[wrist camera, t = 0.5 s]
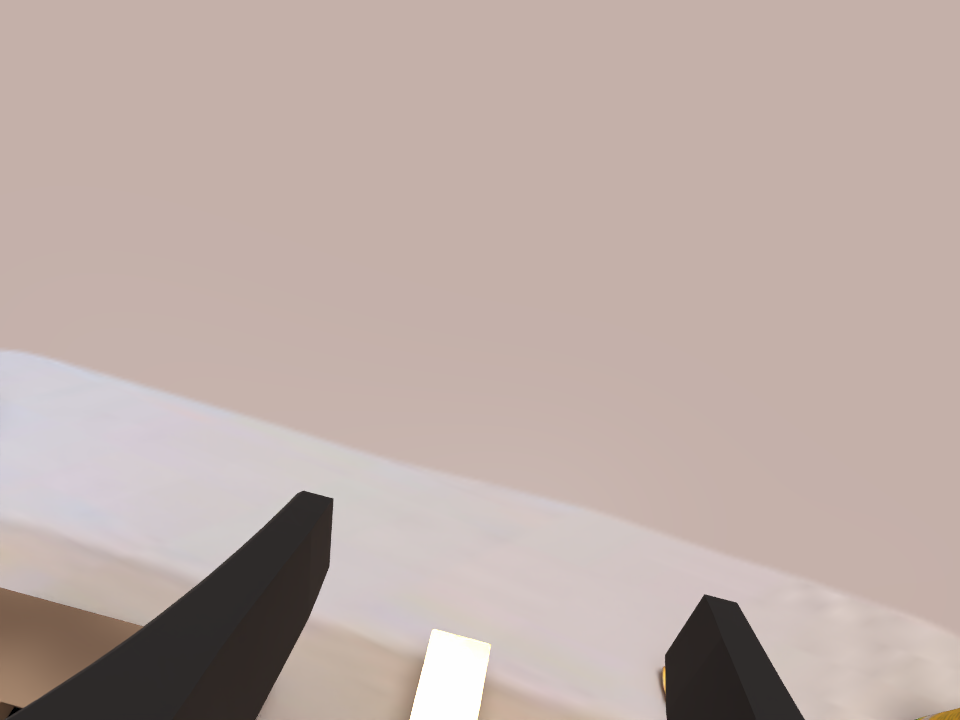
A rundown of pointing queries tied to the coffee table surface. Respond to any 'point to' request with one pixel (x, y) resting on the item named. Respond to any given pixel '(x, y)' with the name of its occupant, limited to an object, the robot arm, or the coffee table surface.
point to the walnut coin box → (48, 645)
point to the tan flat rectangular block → (451, 678)
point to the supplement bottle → (943, 715)
